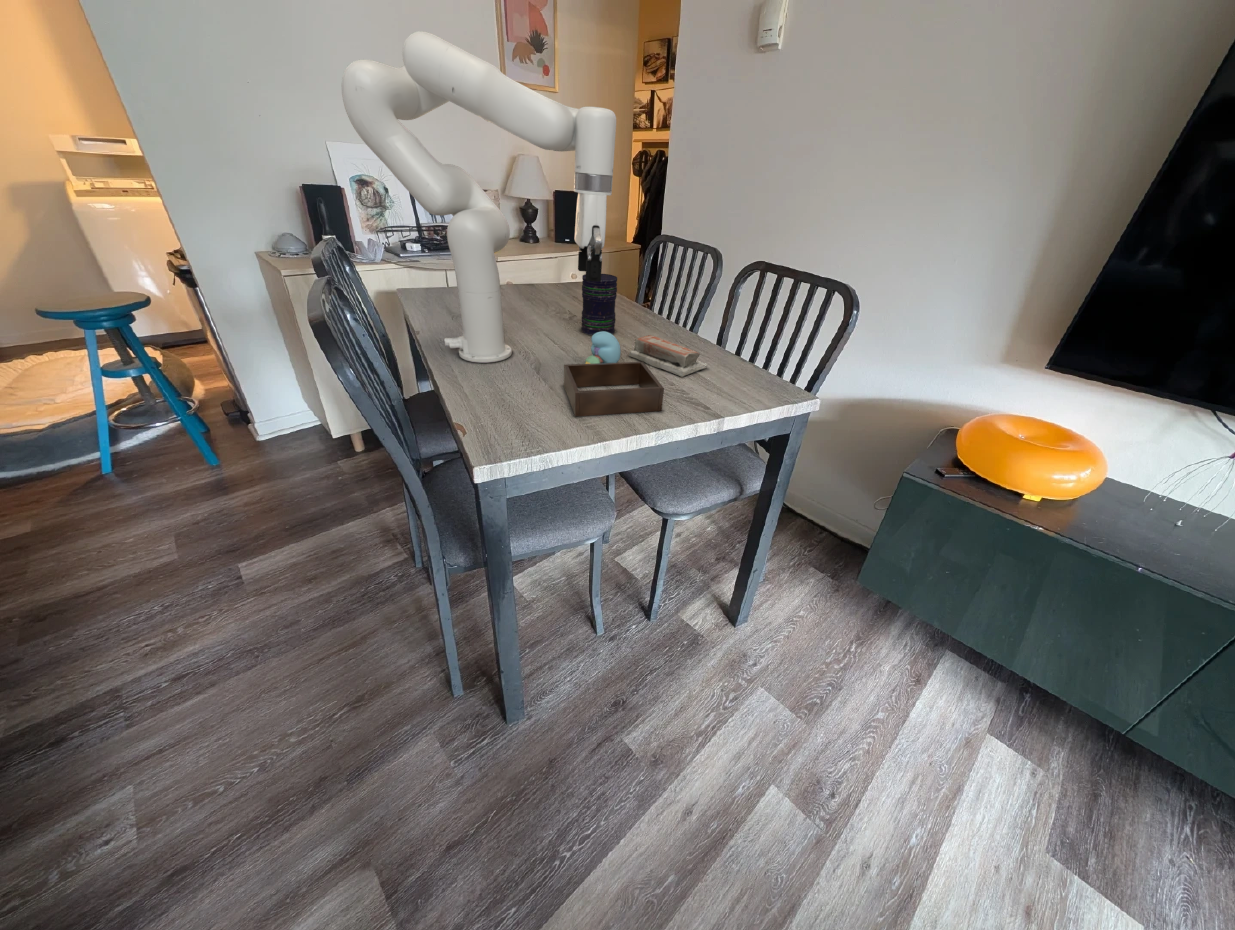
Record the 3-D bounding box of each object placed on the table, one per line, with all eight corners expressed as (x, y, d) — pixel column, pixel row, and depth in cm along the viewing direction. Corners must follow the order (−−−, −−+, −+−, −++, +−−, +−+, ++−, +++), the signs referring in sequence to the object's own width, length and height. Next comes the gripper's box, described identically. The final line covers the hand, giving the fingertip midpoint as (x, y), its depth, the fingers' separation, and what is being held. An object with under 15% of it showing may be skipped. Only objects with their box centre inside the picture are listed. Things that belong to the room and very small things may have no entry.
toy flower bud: (565, 336, 106) (606, 324, 112) (567, 372, 111) (607, 359, 118) (584, 345, 102) (626, 332, 108) (586, 382, 107) (626, 368, 113)
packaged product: (628, 338, 118) (654, 331, 124) (627, 356, 121) (653, 349, 127) (684, 358, 108) (710, 349, 114) (682, 378, 110) (707, 368, 117)
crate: (575, 416, 91) (575, 392, 88) (563, 386, 103) (563, 364, 100) (661, 411, 95) (664, 388, 92) (641, 382, 107) (643, 361, 104)
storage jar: (614, 337, 134) (617, 281, 126) (579, 335, 134) (580, 279, 126) (615, 326, 142) (617, 274, 134) (582, 324, 142) (583, 272, 134)
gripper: (568, 180, 100) (566, 266, 109) (581, 186, 86) (578, 284, 95) (602, 183, 102) (598, 268, 111) (621, 189, 88) (614, 285, 97)
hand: (588, 275), depth 103 cm, fingers open, 9 cm apart
